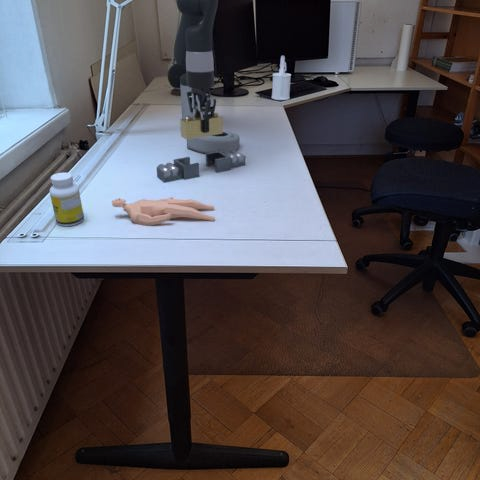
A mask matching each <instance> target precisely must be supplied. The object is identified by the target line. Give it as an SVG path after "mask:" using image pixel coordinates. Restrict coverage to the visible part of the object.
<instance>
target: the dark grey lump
mask: <svg viewBox="0 0 480 480" xmlns="http://www.w3.org/2000/svg"><path fill="white" fill-rule="evenodd" d="M185 73H186V65H179V64H177V63H174V64H173V65H172V66H170V68H169V69H168V71H167V80H168V83H169V84H170V86H171V87H172V88H173V89H171V91H170V94H171V96H175V97H181V88H180V77H181V76H182V75H183V74H185Z"/></svg>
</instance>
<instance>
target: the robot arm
mask: <svg viewBox="0 0 480 480" xmlns="http://www.w3.org/2000/svg"><path fill="white" fill-rule="evenodd" d="M175 2H176V7H177V9H178V11H179V13H181V16H180V21H179V25H178V28H177V29H178V30H177V32H176V36H175V41H174V43H173V45H174V46H173V57H174V61H175V64H179V65H186V73H185V74H183V75H182V76H181V77H180V88H181V96H180V101H181V119H185V117H187V116H189V117H190V118H193V117H200V116H201V119H202V120H201V129H202V132H203V133H207V132H209V119H211V118H213V117H214V113H215V110H216V105H217V100H216V98H212V97H211V88H213V87H214V85H215V78H214V77H215V75H214V72H215V69H214V68H215V67H214V66H215V65H214V54H213V29H214V23H215V17H216V13H217V10H218V4H219V0H175Z"/></svg>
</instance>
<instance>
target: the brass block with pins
mask: <svg viewBox="0 0 480 480" xmlns="http://www.w3.org/2000/svg"><path fill="white" fill-rule="evenodd" d="M179 120H180V123H179V124H180V136H181V138H183V139H185V140H186V141H187V139H193V138H199V137H205V136H211V135H217V134H223V131H224V129H223V128H224V127H223V126H224V125H223V120H224V119H223V116H222V115H219V113H218V112H214V117H213V118H211V119H209V132H207V133H203V132H202V129H201V120H202V119H201V116H200V117H193V118H190V117H189V116H187V117H185V119H182V118H180V119H179Z"/></svg>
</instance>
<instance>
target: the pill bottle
mask: <svg viewBox="0 0 480 480" xmlns="http://www.w3.org/2000/svg"><path fill="white" fill-rule="evenodd" d="M50 183H51V185H52V186H51V187H50V189H49V196H50V200H51V204H52V205H51V206H52V208H53V209H52V210H53V213H54V218H55V222H56V224H58V226H62V227H72V226H73V227H74V226H76V225H78V224H81V223H82V222H83V221H84V218H85V215H84V210H83V205H82V198H81V194H80V188H79V186H78V184H76V183H75V182H74V178H73V174H72V173H70V172H58V173H54V174H53V175H50Z"/></svg>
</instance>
